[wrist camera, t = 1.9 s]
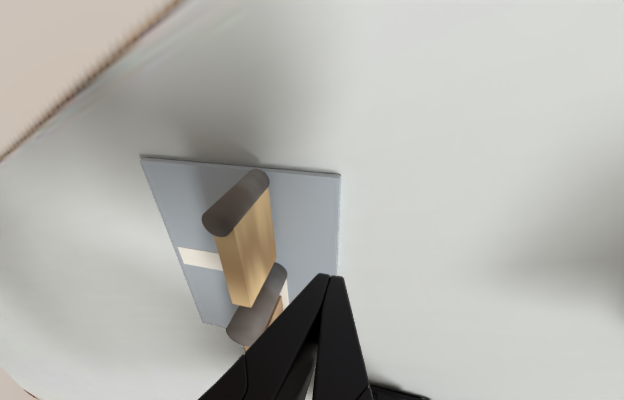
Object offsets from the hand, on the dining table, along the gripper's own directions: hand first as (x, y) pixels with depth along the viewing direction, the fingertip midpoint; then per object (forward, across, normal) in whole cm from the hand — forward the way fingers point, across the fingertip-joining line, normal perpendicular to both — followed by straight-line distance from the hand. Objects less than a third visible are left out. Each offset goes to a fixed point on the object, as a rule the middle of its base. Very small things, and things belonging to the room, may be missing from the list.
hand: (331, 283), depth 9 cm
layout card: (+5, +6, +6) cm, 10 cm away
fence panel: (+5, +4, +1) cm, 7 cm away
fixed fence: (+5, +4, +9) cm, 11 cm away
